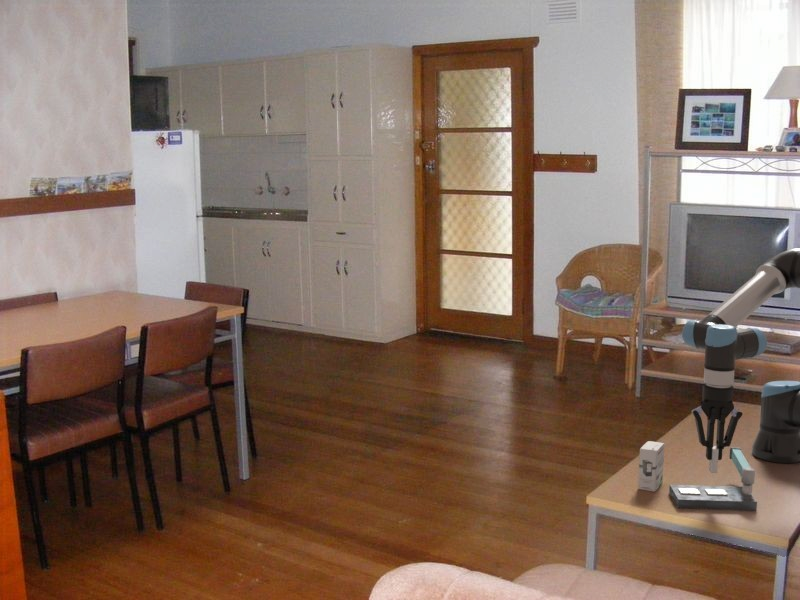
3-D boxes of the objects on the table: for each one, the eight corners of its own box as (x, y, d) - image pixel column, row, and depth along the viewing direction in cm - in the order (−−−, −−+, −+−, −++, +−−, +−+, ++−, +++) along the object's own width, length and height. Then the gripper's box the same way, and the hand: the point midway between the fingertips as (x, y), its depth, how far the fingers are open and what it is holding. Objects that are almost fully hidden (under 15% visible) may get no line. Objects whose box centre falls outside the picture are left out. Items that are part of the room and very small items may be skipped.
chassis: (745, 495, 255) (746, 476, 255) (757, 511, 245) (758, 491, 244) (669, 493, 257) (670, 474, 256) (677, 508, 246) (678, 488, 245)
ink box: (645, 479, 267) (647, 439, 266) (663, 482, 265) (665, 442, 263) (637, 489, 260) (639, 448, 258) (655, 492, 258) (657, 450, 256)
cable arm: (755, 484, 247) (756, 471, 247) (742, 484, 248) (743, 471, 247) (740, 458, 268) (741, 446, 268) (728, 458, 269) (729, 446, 268)
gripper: (739, 381, 249) (734, 467, 253) (689, 380, 250) (684, 465, 253) (748, 388, 241) (742, 476, 245) (696, 387, 242) (691, 475, 246)
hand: (713, 471), depth 249 cm, fingers closed
